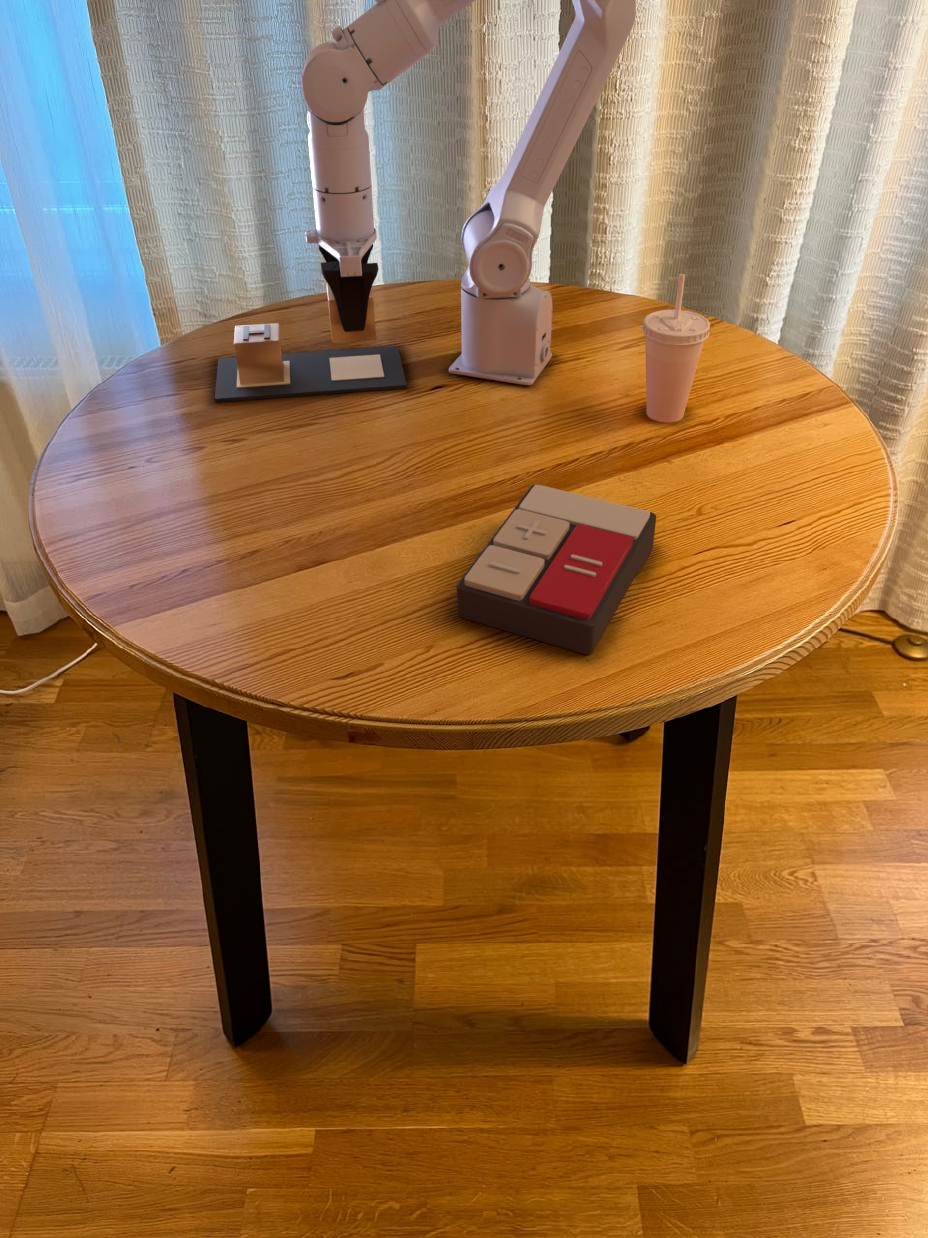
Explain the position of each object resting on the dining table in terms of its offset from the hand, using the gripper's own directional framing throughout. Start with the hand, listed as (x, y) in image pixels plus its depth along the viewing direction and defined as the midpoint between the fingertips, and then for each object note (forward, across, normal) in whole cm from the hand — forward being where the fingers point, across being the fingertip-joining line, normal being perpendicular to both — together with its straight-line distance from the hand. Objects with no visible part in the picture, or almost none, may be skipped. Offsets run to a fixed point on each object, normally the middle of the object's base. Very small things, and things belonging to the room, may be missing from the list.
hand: (352, 319), depth 108 cm
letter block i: (+1, 0, 0) cm, 1 cm away
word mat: (+6, 0, -5) cm, 8 cm away
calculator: (+6, +41, +13) cm, 44 cm away
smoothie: (+6, +15, +30) cm, 34 cm away
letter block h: (+5, 0, -10) cm, 11 cm away
